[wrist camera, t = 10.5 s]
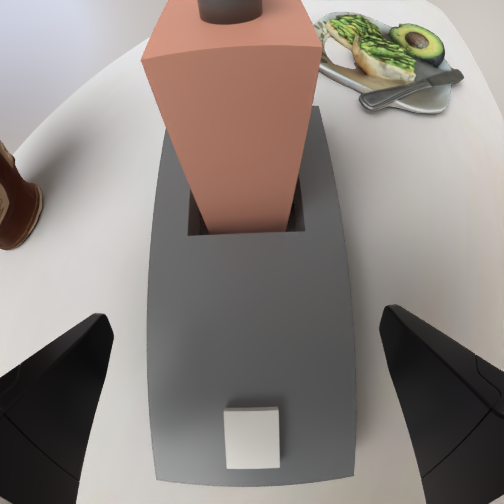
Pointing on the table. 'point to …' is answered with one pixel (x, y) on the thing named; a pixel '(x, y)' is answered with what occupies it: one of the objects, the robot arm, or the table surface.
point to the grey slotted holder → (251, 338)
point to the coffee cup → (16, 203)
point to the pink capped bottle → (236, 104)
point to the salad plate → (389, 63)
